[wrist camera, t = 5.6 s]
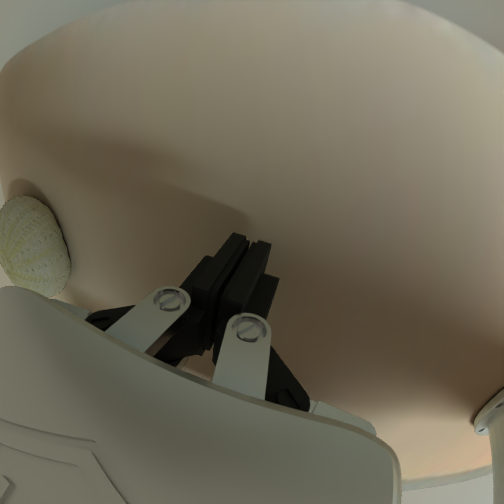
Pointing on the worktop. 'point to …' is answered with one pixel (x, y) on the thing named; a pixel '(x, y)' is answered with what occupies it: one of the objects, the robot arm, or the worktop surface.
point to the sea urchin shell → (33, 246)
